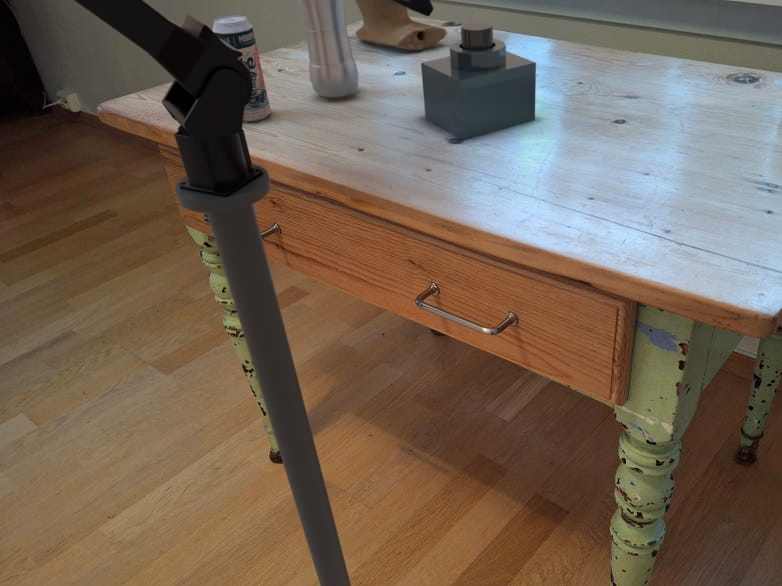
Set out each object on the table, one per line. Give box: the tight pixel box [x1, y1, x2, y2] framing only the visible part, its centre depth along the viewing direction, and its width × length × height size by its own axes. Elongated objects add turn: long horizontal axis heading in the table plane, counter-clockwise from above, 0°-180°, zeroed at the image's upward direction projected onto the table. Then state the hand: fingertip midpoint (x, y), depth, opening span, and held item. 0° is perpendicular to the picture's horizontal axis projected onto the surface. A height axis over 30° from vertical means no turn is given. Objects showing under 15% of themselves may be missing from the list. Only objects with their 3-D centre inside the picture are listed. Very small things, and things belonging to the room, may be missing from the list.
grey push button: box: [460, 21, 494, 51], centre depth 84 cm, size 4×4×2 cm
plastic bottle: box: [297, 0, 359, 98], centre depth 93 cm, size 6×7×20 cm
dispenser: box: [420, 38, 537, 141], centre depth 87 cm, size 11×9×9 cm
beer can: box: [212, 14, 272, 123], centre depth 89 cm, size 5×5×12 cm
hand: (429, 12), depth 79 cm, fingers closed
